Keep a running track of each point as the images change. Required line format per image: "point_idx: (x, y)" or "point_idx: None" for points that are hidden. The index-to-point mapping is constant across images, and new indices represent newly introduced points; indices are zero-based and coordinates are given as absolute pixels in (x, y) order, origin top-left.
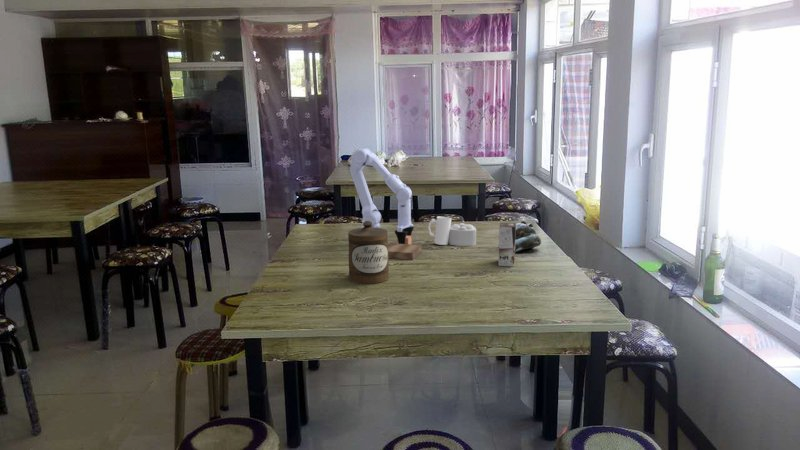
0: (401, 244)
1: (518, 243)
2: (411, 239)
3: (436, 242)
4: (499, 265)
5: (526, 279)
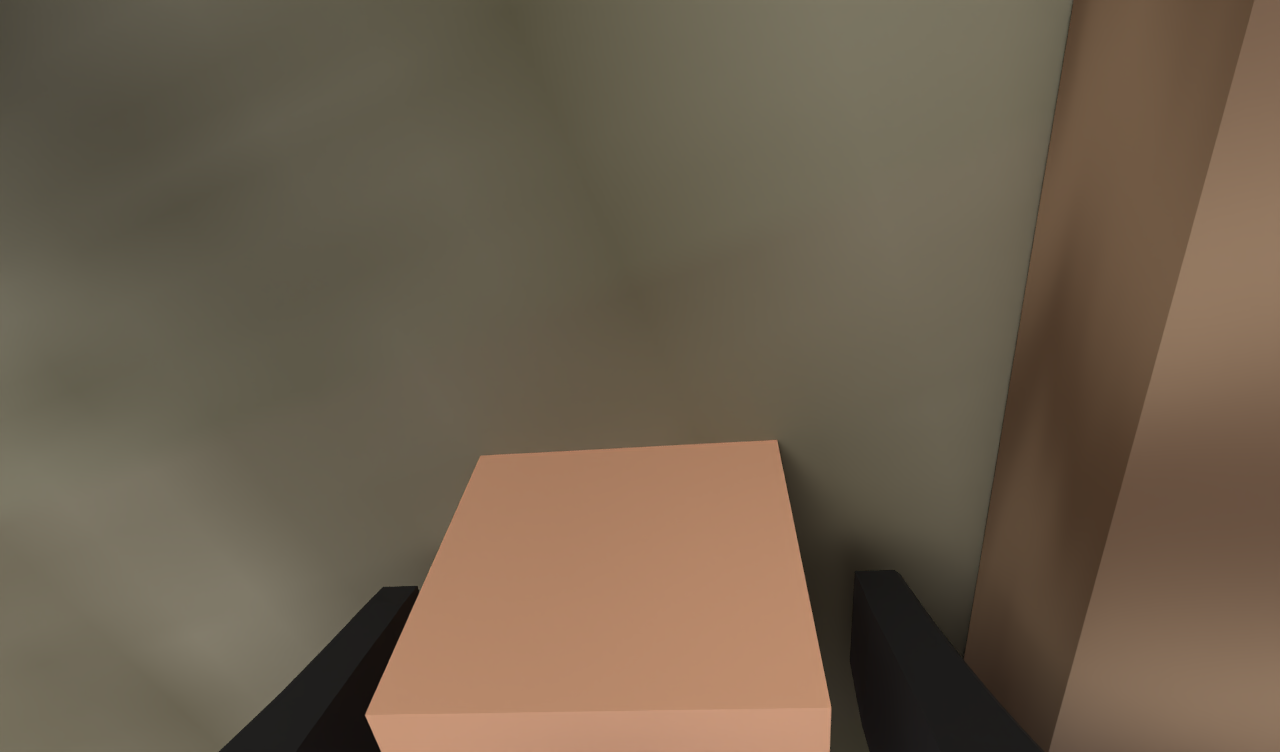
0: (1166, 656)
1: None
2: (417, 600)
3: None
4: None
5: None
